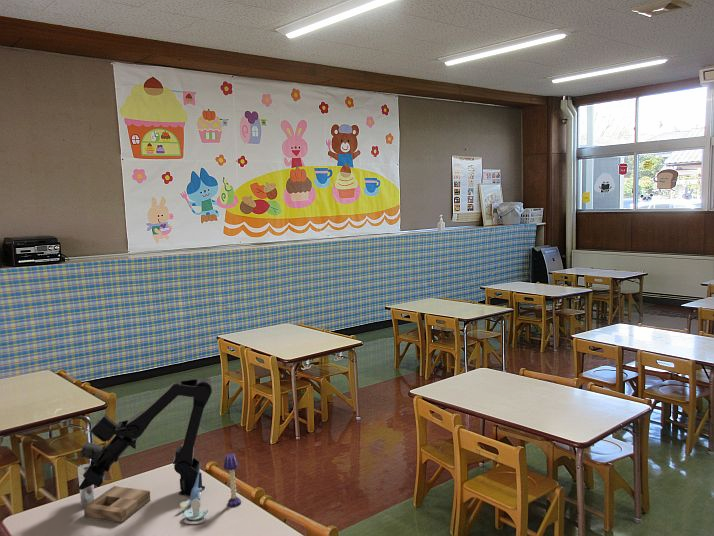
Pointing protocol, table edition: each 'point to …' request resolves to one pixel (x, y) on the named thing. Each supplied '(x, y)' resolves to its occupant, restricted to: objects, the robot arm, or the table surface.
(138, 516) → the table surface
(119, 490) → the pocket board
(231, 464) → the toy lamp
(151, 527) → the table surface
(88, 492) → the aluminium peg
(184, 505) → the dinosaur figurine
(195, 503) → the pacifier
